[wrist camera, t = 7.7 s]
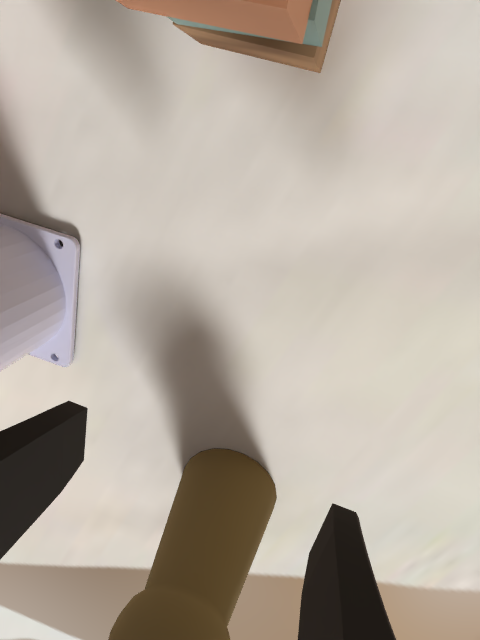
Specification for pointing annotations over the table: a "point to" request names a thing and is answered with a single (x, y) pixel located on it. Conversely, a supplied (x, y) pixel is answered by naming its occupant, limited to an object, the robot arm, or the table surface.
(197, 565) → the olive upright rounded piece
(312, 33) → the teal slab
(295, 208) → the table surface
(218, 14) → the orange block
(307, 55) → the walnut slab
